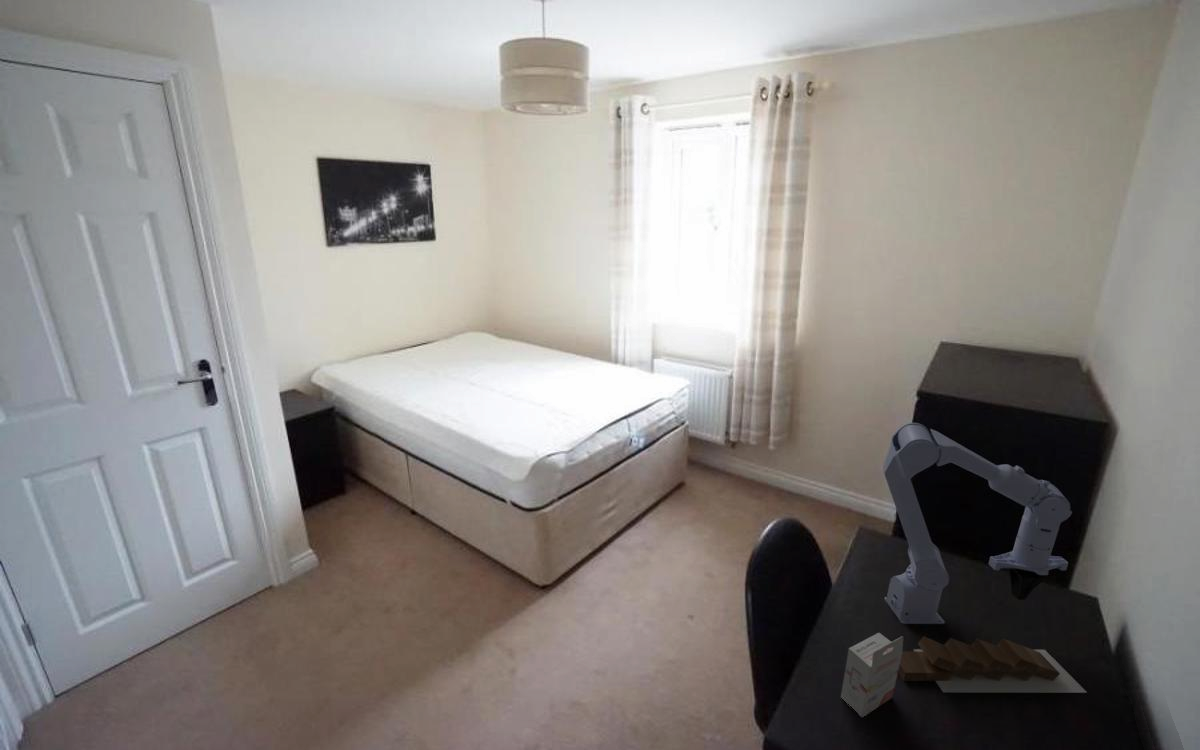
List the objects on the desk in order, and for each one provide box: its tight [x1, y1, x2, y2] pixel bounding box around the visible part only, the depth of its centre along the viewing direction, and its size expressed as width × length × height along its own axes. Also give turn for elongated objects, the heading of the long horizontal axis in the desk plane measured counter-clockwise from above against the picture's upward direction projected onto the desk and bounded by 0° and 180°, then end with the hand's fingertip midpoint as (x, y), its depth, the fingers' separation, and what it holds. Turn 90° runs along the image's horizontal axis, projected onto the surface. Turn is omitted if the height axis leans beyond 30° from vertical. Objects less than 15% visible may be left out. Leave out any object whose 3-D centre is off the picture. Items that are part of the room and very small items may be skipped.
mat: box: [913, 648, 1088, 694], centre depth 104 cm, size 27×10×1 cm, turn 90°
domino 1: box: [898, 651, 952, 682], centre depth 104 cm, size 2×5×9 cm
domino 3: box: [944, 637, 1006, 681], centre depth 103 cm, size 2×5×9 cm
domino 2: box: [917, 636, 977, 680], centre depth 103 cm, size 2×5×9 cm
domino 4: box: [970, 638, 1034, 681], centre depth 103 cm, size 2×5×9 cm
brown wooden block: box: [996, 638, 1060, 681], centre depth 103 cm, size 2×5×9 cm
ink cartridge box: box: [840, 632, 904, 718], centre depth 96 cm, size 9×5×15 cm, turn 117°
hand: (1017, 596), depth 111 cm, fingers closed
